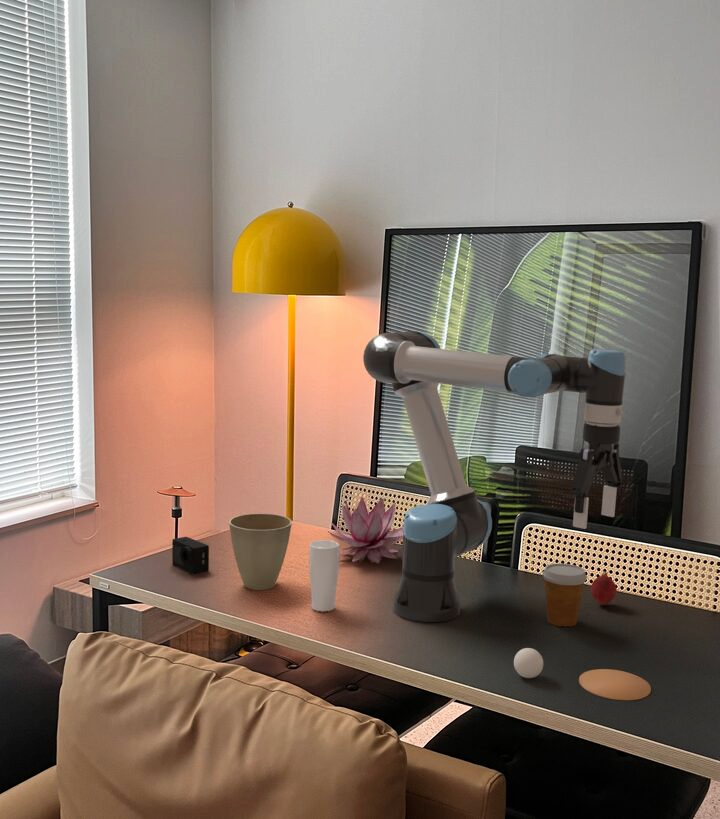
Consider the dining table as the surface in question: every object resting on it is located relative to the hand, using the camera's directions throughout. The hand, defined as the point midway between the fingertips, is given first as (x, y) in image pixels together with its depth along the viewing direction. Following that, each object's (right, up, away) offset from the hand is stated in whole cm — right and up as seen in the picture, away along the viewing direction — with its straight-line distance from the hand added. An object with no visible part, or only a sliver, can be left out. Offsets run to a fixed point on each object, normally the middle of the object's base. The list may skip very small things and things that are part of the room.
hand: (594, 521), depth 198 cm
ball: (-18, -24, -23) cm, 38 cm away
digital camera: (-94, -17, +37) cm, 102 cm away
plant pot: (-74, -19, +26) cm, 81 cm away
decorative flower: (-48, -16, +50) cm, 71 cm away
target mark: (-2, -28, -25) cm, 37 cm away
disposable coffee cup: (-5, -23, +7) cm, 25 cm away
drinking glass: (-58, -21, +11) cm, 63 cm away
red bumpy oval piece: (+7, -22, +18) cm, 29 cm away
